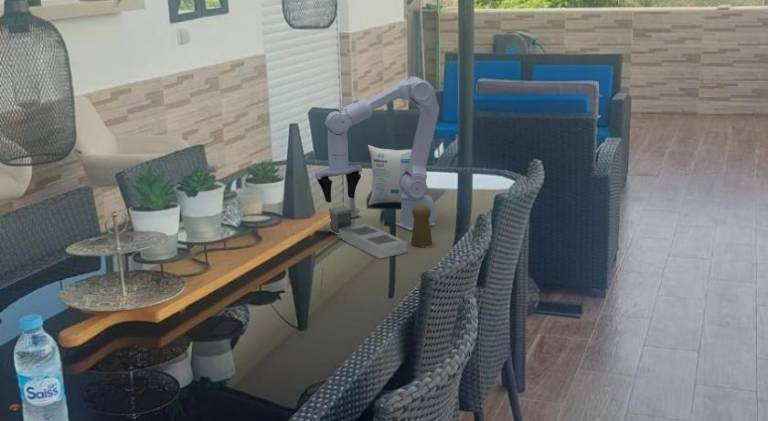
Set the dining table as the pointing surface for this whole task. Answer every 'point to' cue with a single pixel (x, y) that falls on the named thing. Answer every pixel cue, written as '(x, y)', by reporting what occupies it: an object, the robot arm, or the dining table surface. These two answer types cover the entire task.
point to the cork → (421, 226)
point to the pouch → (387, 173)
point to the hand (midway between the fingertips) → (339, 199)
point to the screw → (353, 208)
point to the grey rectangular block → (340, 218)
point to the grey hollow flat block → (373, 240)
